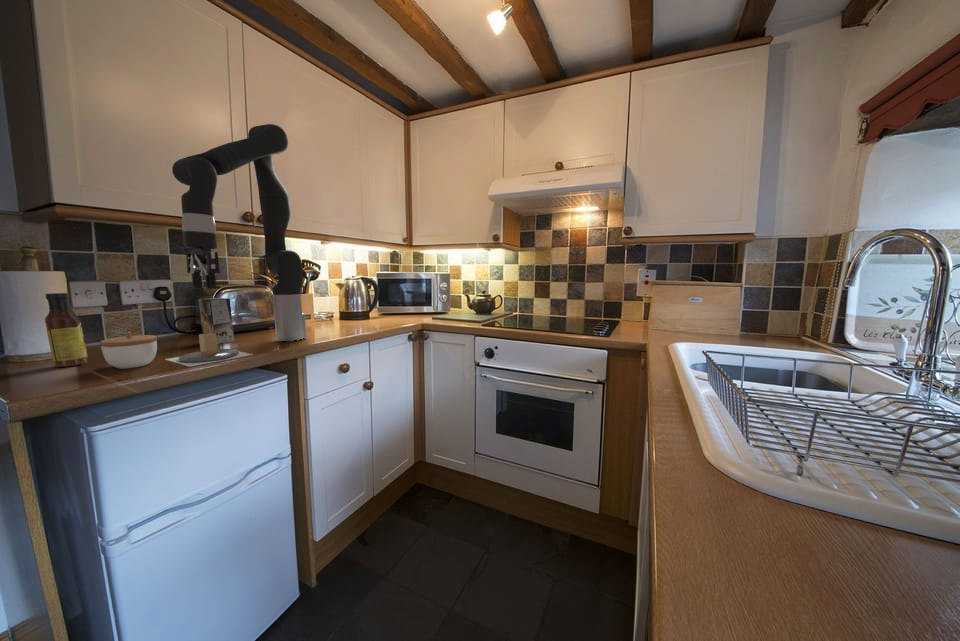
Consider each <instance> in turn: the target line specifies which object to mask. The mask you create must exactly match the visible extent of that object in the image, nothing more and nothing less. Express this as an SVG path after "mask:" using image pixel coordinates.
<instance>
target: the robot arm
mask: <svg viewBox="0 0 960 641" xmlns="http://www.w3.org/2000/svg"><path fill="white" fill-rule="evenodd" d="M289 144H290V143H289V138H288V135H287V133H286V131H285V130H284V129H283V128H282V127H280V126H279V125H277V124H273V123H267V124H260V125H256V126H253V127H251V128H250V129H249V130H248V135H247V137H246V138H243V139H239V140H235V141H231V142H227V143H225V144H222V145H218V146H215V147H213V148H211V149H209V150H207V151H205V152H201V153H198V154H194V155H189V156H186V157H183V158H180V159H178V160H176V161H175V162H174V163H173V165H172V170H171V171H172V175H173V177H174V178H175V179H176V180H177V181H178V182H179V183H181V184H183V185H186V186H189V188H188V190H187V191H186V192H184V193H183V194H181V197H180V200H181V212H182V217H181V226H182V238H183V246H184V248H187V249H191V252H186V254H185V256H186V257H185V258H186V272H187V274H190V276H191V282H192V288H193V289H202V288H203V276H202V274H203V273H204V278H205V288H206V289H208V290H210V289H212V290H213V289H214V290H215V289H216V288H217V282H216V280H217V279H216V278H217V277H216V276H217V274H219V273H220V263H219V262H220V261H219V253H218V252H217V251H212V250H216V249H218V240H217V239H218V238H217V227H216V222H215V217H214V216H215V213H214V206H213V205H214V204H213V203H214V198H215V195H216V189H217V185H218V176H223V175H226V174H229V173H231V172H234V171H235V170H237V169H239V168H242V167H244V166H246V165H248V164H250V163H252V162H253V166H254V171H255V177H256V183H257V189H258V199H259V205H260V214H261V218H262V227H263V234H264V259H265V260H264V261H265V265H266V268H267V270H268V271H269V273H271V274H272V275H274V276H278V277H277V283H276V284H274V286H273V287H272V288H271V289H272V303H273V314H274V325H275V327H274V328H275V339H276V341H277V342H282V341H286V342H295V341H294V340H297V341H301V340H300V339H302V340H303V338H304V339H307V329H306V328H307V327H306V314H305V313H304V312H303V304H302V294H301V293H302V291H301V290H302V287H303V262H302V259H301V257H300V255H299V254H298V253H297V252H296V251H294V250H290V249H289V250H288V249H287V247H286V232H287V229H288V225H289V223H290V219H291V206H290V197H289V193H288V192H287V190H286V188H285V186H284V185H283V183H282V182H281V180H280V179H279V177H278V176H277V174H276V171H275V168H274V163H273V156H274V155H280V154H283V153H285V151H287V150H288V148H289Z"/></svg>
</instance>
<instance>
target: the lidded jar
mask: <svg viewBox="0 0 960 641" xmlns="http://www.w3.org/2000/svg"><path fill="white" fill-rule="evenodd" d="M157 340H158V337H157V336H156V335H152V334H146V335H145V334H142V335H141V334H140V335H132V332H129V331H128V332H125V336H120V337H112V338H106V339H103V340H101V341H100V342H99V344H100V346H101V353H102V355H103V357H104V360H105V361H106V362H107V363H108V364H109V365H111V367H114V368H117V369H122V370H123V369H132V368H139V367H144V366H147V365H149V364H150V363H152V361H154V359H155V357H156V355H157V352H158V351H157V350H158V342H157Z"/></svg>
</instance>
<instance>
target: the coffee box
mask: <svg viewBox="0 0 960 641" xmlns="http://www.w3.org/2000/svg"><path fill="white" fill-rule="evenodd" d="M198 307H199V314H200V322H201V330H202V331H201V332H202V334H208V333H214V334H217V343H218V345H219V344H226V343H231V342H235V336H234V328H233V327H234V326H233V317H232V307H231V299H230V298H229V297H228V298H226V297H224V298H223V297H209V298H207V297H206V298H199V299H198Z"/></svg>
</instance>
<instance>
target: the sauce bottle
mask: <svg viewBox="0 0 960 641" xmlns="http://www.w3.org/2000/svg"><path fill="white" fill-rule="evenodd" d="M70 298H71V297H70V293H69V292H52V293H45V299H46V300H47V304H48V309H49V311H48V313H47V315H46V316H45V318H44V322H45V327H46V330H45V331H46V335H47V339H48V344H49V348H50V349H49V350H50V354H51V358H52V362H53V366H54V367H57V368H69V367H75V366H80V365H83V364H84V365H85V364H87V363H88V351H87V347H86V342H85V341H86V340H85V337H84V332H83V327H82V323H81V322H82V321H81V320H80V318H79V317H78V316H77V314H76V313H75V312H74V310H73V308H72V307H71V303H70Z"/></svg>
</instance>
